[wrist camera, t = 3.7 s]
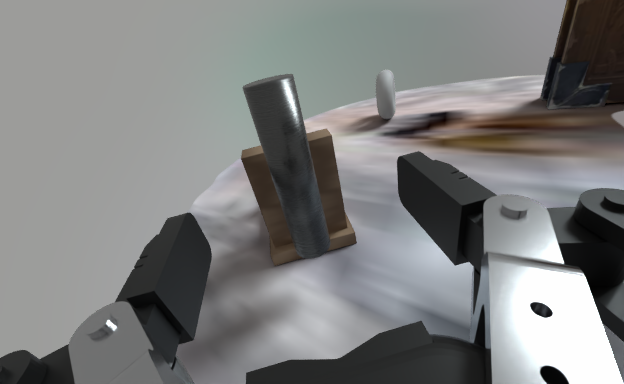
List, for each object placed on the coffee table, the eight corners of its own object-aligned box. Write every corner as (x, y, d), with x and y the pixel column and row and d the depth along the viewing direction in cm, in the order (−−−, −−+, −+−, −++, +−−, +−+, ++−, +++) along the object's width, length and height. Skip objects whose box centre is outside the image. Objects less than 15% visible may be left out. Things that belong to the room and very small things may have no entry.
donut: (381, 111, 63) (378, 66, 58) (396, 110, 62) (394, 64, 57) (377, 126, 56) (373, 76, 50) (394, 125, 54) (392, 73, 49)
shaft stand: (321, 169, 44) (306, 96, 38) (356, 243, 28) (340, 137, 22) (269, 182, 44) (245, 111, 38) (274, 265, 28) (234, 164, 22)
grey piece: (302, 160, 37) (277, 58, 30) (334, 252, 21) (296, 77, 14) (281, 166, 37) (251, 64, 30) (297, 262, 21) (240, 91, 14)
